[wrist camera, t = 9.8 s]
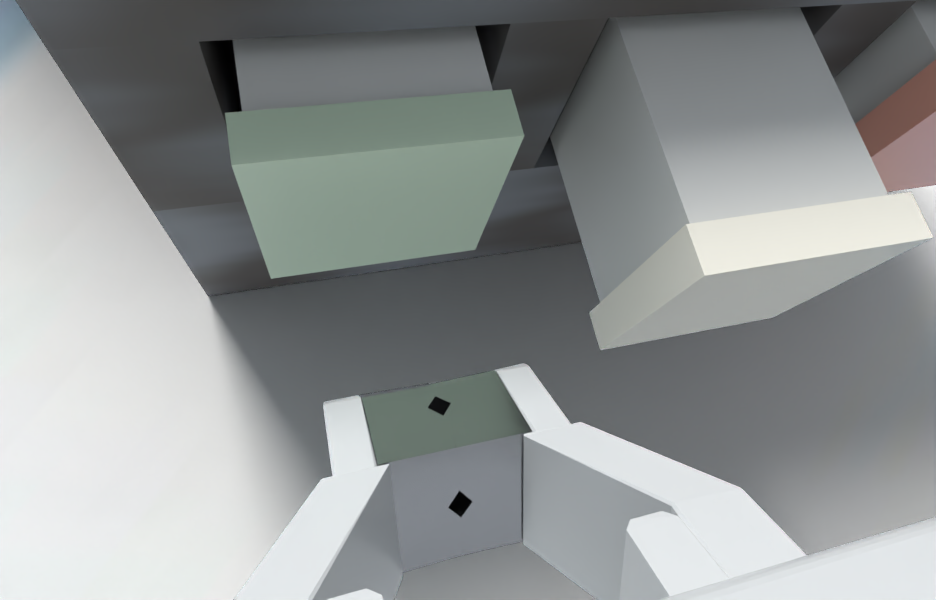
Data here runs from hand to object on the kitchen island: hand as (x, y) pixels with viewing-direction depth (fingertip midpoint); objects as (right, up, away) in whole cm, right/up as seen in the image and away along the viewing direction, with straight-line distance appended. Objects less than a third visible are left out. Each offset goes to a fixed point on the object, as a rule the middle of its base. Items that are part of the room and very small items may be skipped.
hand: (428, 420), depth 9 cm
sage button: (-2, +5, +4) cm, 6 cm away
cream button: (+5, +3, +4) cm, 7 cm away
